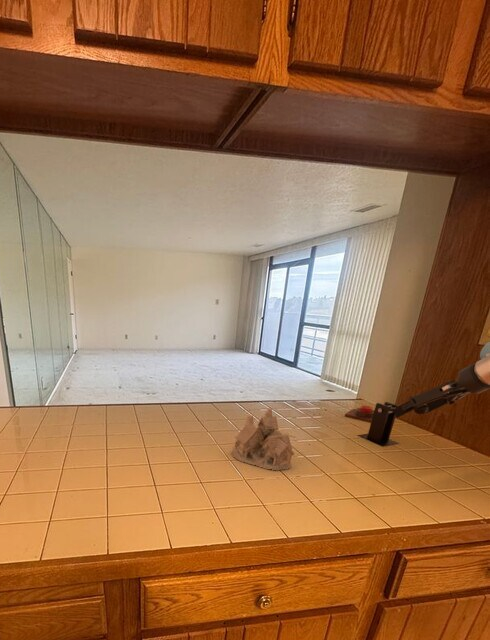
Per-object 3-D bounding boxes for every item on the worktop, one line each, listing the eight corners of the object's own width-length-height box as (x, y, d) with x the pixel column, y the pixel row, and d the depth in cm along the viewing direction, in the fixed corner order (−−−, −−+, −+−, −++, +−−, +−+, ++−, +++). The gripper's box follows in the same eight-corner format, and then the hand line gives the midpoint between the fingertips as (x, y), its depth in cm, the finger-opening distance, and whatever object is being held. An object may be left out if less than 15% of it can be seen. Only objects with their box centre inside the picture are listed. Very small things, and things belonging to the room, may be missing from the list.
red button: (372, 411, 140) (373, 407, 139) (369, 413, 137) (370, 409, 136) (361, 409, 142) (362, 405, 142) (358, 411, 139) (359, 407, 139)
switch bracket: (398, 446, 117) (410, 407, 112) (381, 449, 114) (393, 410, 109) (372, 435, 126) (382, 399, 120) (356, 438, 123) (365, 401, 117)
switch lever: (431, 413, 104) (430, 401, 104) (423, 414, 103) (422, 402, 102) (386, 414, 117) (385, 403, 117) (378, 415, 116) (378, 404, 116)
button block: (383, 420, 141) (385, 411, 139) (376, 426, 134) (379, 417, 132) (351, 413, 148) (353, 404, 147) (344, 418, 141) (346, 409, 140)
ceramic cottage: (227, 447, 112) (234, 404, 105) (275, 448, 114) (285, 406, 107) (241, 474, 98) (251, 426, 92) (296, 474, 100) (309, 427, 93)
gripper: (504, 359, 95) (430, 397, 114) (446, 364, 86) (376, 404, 105) (520, 383, 92) (442, 417, 111) (462, 390, 84) (388, 426, 102)
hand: (410, 411), depth 108 cm, fingers open, 13 cm apart
